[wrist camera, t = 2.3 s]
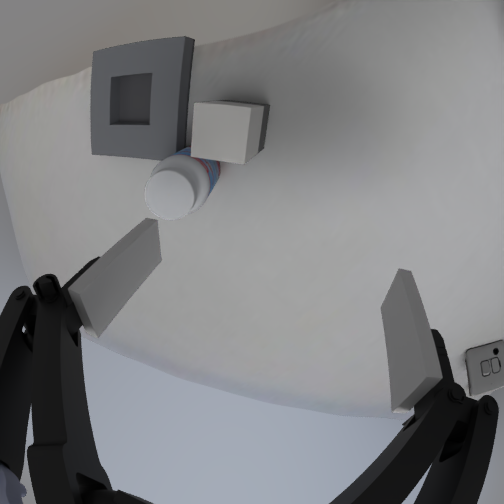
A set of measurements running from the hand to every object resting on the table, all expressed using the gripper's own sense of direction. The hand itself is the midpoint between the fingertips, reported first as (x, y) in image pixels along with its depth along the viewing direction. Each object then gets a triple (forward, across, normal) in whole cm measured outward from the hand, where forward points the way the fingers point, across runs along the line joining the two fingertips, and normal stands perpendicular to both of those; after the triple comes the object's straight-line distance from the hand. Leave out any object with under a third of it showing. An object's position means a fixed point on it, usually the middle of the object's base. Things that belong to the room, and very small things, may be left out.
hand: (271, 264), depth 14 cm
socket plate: (+19, -21, +7) cm, 29 cm away
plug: (+19, -7, +4) cm, 20 cm away
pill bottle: (+19, -12, -2) cm, 23 cm away
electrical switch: (+18, +42, -24) cm, 52 cm away
